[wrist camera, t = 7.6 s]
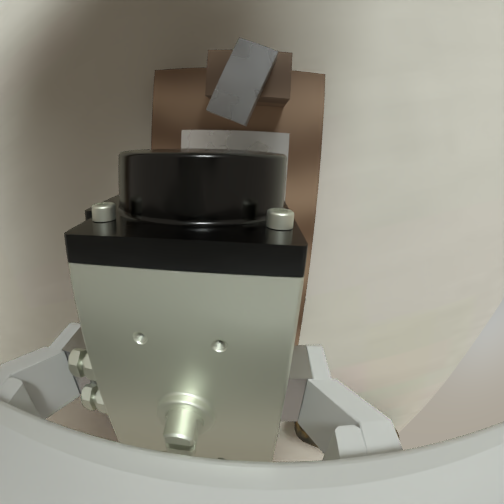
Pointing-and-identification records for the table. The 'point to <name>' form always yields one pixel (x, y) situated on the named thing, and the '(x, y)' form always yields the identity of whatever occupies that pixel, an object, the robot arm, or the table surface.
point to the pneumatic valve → (190, 301)
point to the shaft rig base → (253, 125)
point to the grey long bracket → (240, 104)
